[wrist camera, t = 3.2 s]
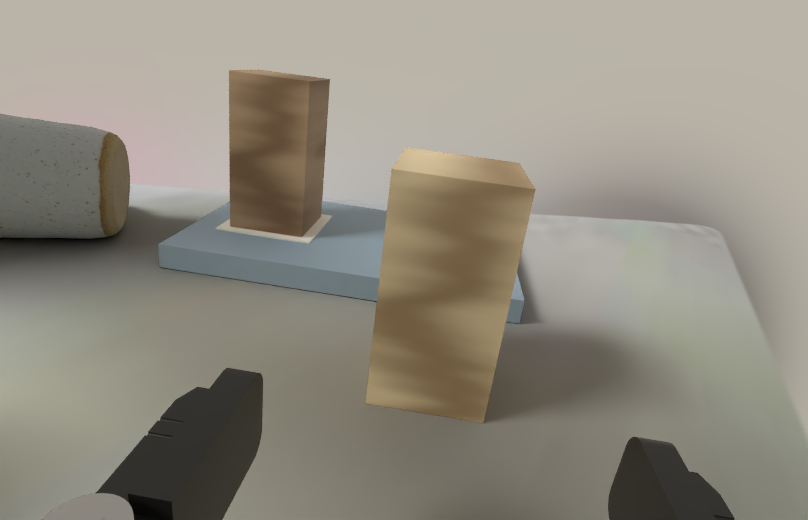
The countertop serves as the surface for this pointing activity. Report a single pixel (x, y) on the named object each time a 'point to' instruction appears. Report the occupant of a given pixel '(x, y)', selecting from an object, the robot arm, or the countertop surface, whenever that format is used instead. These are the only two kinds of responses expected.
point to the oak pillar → (446, 281)
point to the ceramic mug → (61, 180)
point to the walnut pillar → (276, 150)
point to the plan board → (295, 253)
